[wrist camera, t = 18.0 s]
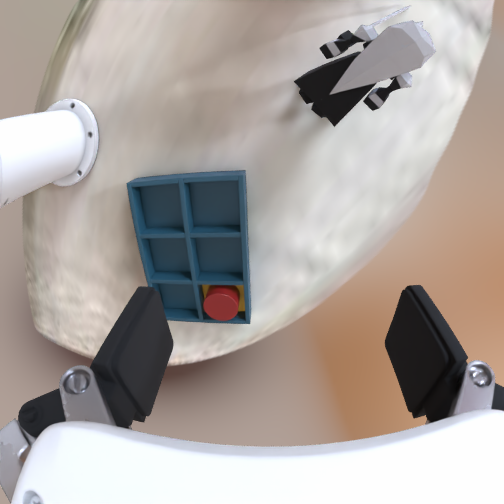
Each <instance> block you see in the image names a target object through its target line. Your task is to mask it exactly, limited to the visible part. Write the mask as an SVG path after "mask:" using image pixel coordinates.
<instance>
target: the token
mask: <svg viewBox="0 0 504 504" xmlns="http://www.w3.org/2000/svg"><path fill="white" fill-rule="evenodd" d="M239 301H240V292H239V290H238V288H237V287H236V286H235V285H210V286H209V288H208V291H207V294H206V297H205V300H204V303H203V307H204V310H205V312H206V313H207V314H208V315H209V316H210V317H211V318H213V319H216V320H220V321H226V320H230V319H232V318H234V317H235V316H236V314H237V313H238V308H239Z"/></svg>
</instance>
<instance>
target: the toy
mask: <svg viewBox="0 0 504 504" xmlns="http://www.w3.org/2000/svg"><path fill="white" fill-rule="evenodd" d="M409 7H410V6H407V7H404V8H402V9H400V10H398V11H396V12H394V13H392V14H390V15H388V16H386V17H384V18H382V19H380V20H378V21H377V22H375V23H373V24H371V25H369V26H365V25H361V26H360V27H359V28H358V30H357V31H356V32H355V33H354V34H353V33H351V32H350V31H349V30H348V31H346V32H344V33H343V34H341V35H340V36H339V37H338V38H337V40H333V41H331V42H328V43H326V44H324V45H323V46H321V47H320V48H319V49H320V50H321V51H322V53H323V54H324V56H325V57H326V59H329V58H333V57H336V56H338V55H340V54H342V53H344V52H345V51H346V50H347V49H348V47H350V46H352V45H354V44H355V43H357V42H364V41H366V43H364V44H363V47H364V50H363V51H362V52H356V53H353V54H350V55H347V56H345V57H342V58H339V59H337V60H334V61H331V62H329V63H326V64H324V65H322V66H320V67H317V68H315V69H313V70H311V71H308V72H307V73H305V74H304V75H303V76H301V77H300V78H298V79H297V80H295V81H294V82H295V83H296V84H297V85H298V86H299V87H300V91H299V94H300V95H301V97H302V98H303V100H304V101H305V103H306V104H308V103H313V102H314V103H313V106H312V109H311V110H313V111H314V112H315V113H316V114H317V115H319V116H320V117H321V118H323V117H327V118H328V120H329V121H330V122H331V123H332V124H333V126H334V127H335V126H336V125H337V124H338V123H339V122H340V121H341V120H342V119H343V117H344V116H345V115H346V114H347V113H348V112H349V111H350V110H351V109H352V108H353V107H354V106H355V105H356V104H357V103H358V102H359V101H360V100H361V99H362V98H363V97H364V96H365V95H366V94H367V93H368V92H369V91H370V90H371V89H372V88H373V87H374V86H375V84H376V83H377V82H380V81H383V80H386V79H389V78H390V79H391V80H393V79H394V80H393V81H392V83H391V84H390V86H388V87H387V88H380V87H379V88H376V89H373V90H372V91H371V93H370V94H369V95H368V96H367V97H366V98H365V100H364V101H363V102H364V103H365V104H366V105H367V106H368V107H369V108H370V109H371V110H372V111H373V110H376V109H379V108H380V107H381V106H382V105H383V103H384V102H385V101H386V99H387V98H388V96H389V93H391V92H392V91H394V90H397V89H400V88H408V87H412V75H411V74H410V73H409V72H410V71H412V70H415V69H418V68H421V66H422V65H423V64H424V63H425V62H426V61H427V60H428V59H429V58H430V57H431V56H432V55H433V54H434V53H435V52H436V50H435V47H434V44H433V42H432V39H431V36H430V34H429V33H428V32H427V31H426V30H425V29H423V28H422V27H423V21H421V22H416V23H415V22H414V21H413V20H412V21H407V22H402V23H399V24H396V25H392V26H389V27H388V28H386V29H385V30H384V31H383V32H382V33H381V34H380V35H379V36H378V34H377V32H376V30H375V29H374V26H376V25H378V24H379V23H381V22H383V21H385V20H387V19H389V18H391V17H393V16H395V15H396V14H398V13H400V12H402V11H404V10H406V9H408V8H409Z"/></svg>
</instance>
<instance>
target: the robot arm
mask: <svg viewBox="0 0 504 504" xmlns="http://www.w3.org/2000/svg"><path fill="white" fill-rule="evenodd" d="M98 143H99V135H98V127H97V122H96V120H95V117H94V115H93V113H92V112H91V110H90V108H89V107H88V106H87V105H86V104H84V103H83V102H81V101H79V100H76V99H64V100H60V101H58V102H56V103H54V104H53V105H51V106H50V107H49V108H48V109H47V110H46V112H41V113H34V114H28V115H21V116H16V117H10V118H5V119H1V120H0V208H2V207H4V206H5V205H7V204H9V203H10V202H13V201H15V200H16V199H18V198H20V197H22V196H24V195H26V194H28V193H30V192H32V191H34V190H36V189H38V188H40V187H42V186H45V185H47V184H49V183H53V184H55V185H57V186H62V187H64V186H70V185H73V184H75V183H77V182H79V181H81V180H82V179H83V178H84V177H85V176H86V175H87V174H88V173H89V171H90V170H91V168H92V166H93V164H94V161H95V159H96V155H97V151H98ZM385 347H386V350H387V352H388V355H389V357H390V360H391V363H392V365H393V368H394V371H395V373H396V376H397V379H398V382H399V385H400V388H401V391H402V393H403V396H404V399H405V402H406V406H407V408H408V411H409V412H412V415H413V418H417V417H421V416H424V415H426V417H427V421H426V423H425V425H423V426H419V427H415V428H412V429H407V430H403V431H399V432H396V433H391V434H386V435H381V436H376V437H371V438H366V439H360V440H353V441H346V442H338V443H330V444H319V445H305V446H279V447H263V446H236V445H221V444H211V443H202V442H195V441H188V440H181V439H175V438H169V437H164V436H158V435H153V434H148V433H143V432H139V431H134V430H132V428H131V426H130V425H131V424H132V421H133V420H135V421H139V422H144V421H145V418H146V416H149V415H150V414H151V411H152V408H153V405H154V402H155V399H156V396H157V393H158V390H159V387H160V384H161V381H162V378H163V375H164V372H165V369H166V367H167V364H168V361H169V358H170V355H171V352H172V350H173V339H172V336H171V332H170V329H169V326H168V322H167V319H166V315H165V312H164V308H163V304H162V301H161V297H160V294H159V292H158V291H155V289H154V287H142V286H140V287H138V288H137V290H136V291H135V293H134V294H133V296H132V298H131V299H130V301H129V302H128V304H127V305H126V307H125V308H124V310H123V312H122V313H121V315H120V316H119V318H118V320H117V321H116V323H115V324H114V326H113V328H112V329H111V331H110V333H109V334H108V336H107V338H106V339H105V341H104V343H103V344H102V346H101V348H100V350H99V351H98V353H97V355H96V357H95V358H94V360H93V362H92V364H91V366H90V368H88V367H86V366H74V367H72V368H70V369H68V370H67V371H66V372H65V373H64V374H63V376H62V377H61V379H60V385H59V389H56V390H54V391H52V392H49V393H47V394H45V395H42V396H40V397H38V398H35V399H33V400H30V401H28V402H27V403H25V404H24V405H23V406H22V407H21V409H20V411H19V415H18V421H17V420H16V419H14V420H12V421H11V422H10V423H8V424H7V425H6V426H5V427H3V428H2V429H1V430H0V485H1V487H2V489H3V490H4V492H5V494H6V496H7V498H8V500H9V501H10V503H11V504H504V387H502V386H500V385H498V384H496V383H495V375H494V372H493V370H492V368H491V367H490V366H489V365H488V364H487V363H485V362H483V361H479V360H474V361H472V362H470V363H469V364H467V362H466V360H467V358H468V356H467V355H466V353H465V351H464V350H463V348H462V346H461V345H460V343H459V341H458V340H457V338H456V336H455V335H454V333H453V331H452V330H451V328H450V327H449V325H448V324H447V322H446V321H445V319H444V318H443V316H442V314H441V313H440V311H439V310H438V309H437V307H436V306H435V304H434V303H433V301H432V300H431V298H430V297H429V296H428V294H427V293H426V291H425V290H424V289H423V287H422V286H421V285H413V286H407V287H406V288H405V290H403V291H402V293H401V296H400V299H399V302H398V305H397V308H396V311H395V314H394V317H393V320H392V323H391V325H390V328H389V331H388V333H387V336H386V339H385Z"/></svg>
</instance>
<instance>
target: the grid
mask: <svg viewBox="0 0 504 504" xmlns="http://www.w3.org/2000/svg"><path fill="white" fill-rule="evenodd" d="M127 189H128V195H129V201H130V207H131V212H132V218H133V223H134V228H135V233H136V238H137V242H138V247H139V251H140V255H141V260H142V264H143V268H144V272H145V276H146V280H147V283H148V287H154V289H155V291H158V292H159V294H160V297H161V301H162V304H163V308H164V312H165V315H166V319H167V320H171V321H186V322H205V323H231V324H250V319H251V296H250V273H249V248H248V223H247V198H246V172H245V170H243V171H217V172H199V173H185V174H172V175H161V176H151V177H142V178H136V179H134V180H132V181H130V182H128V183H127ZM210 285H235V286H236V287H237V288H238V290H239V292H240V301H239V308H238V313H237V314H236V316H235V317H234V318H232V319H230V320H226V321H220V320H216V319H213V318H211V317H210V316H209V315H208V314H207V313H206V312H205V310H204V307H203V303H204V300H205V297H206V294H207V291H208V288H209V286H210Z"/></svg>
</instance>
